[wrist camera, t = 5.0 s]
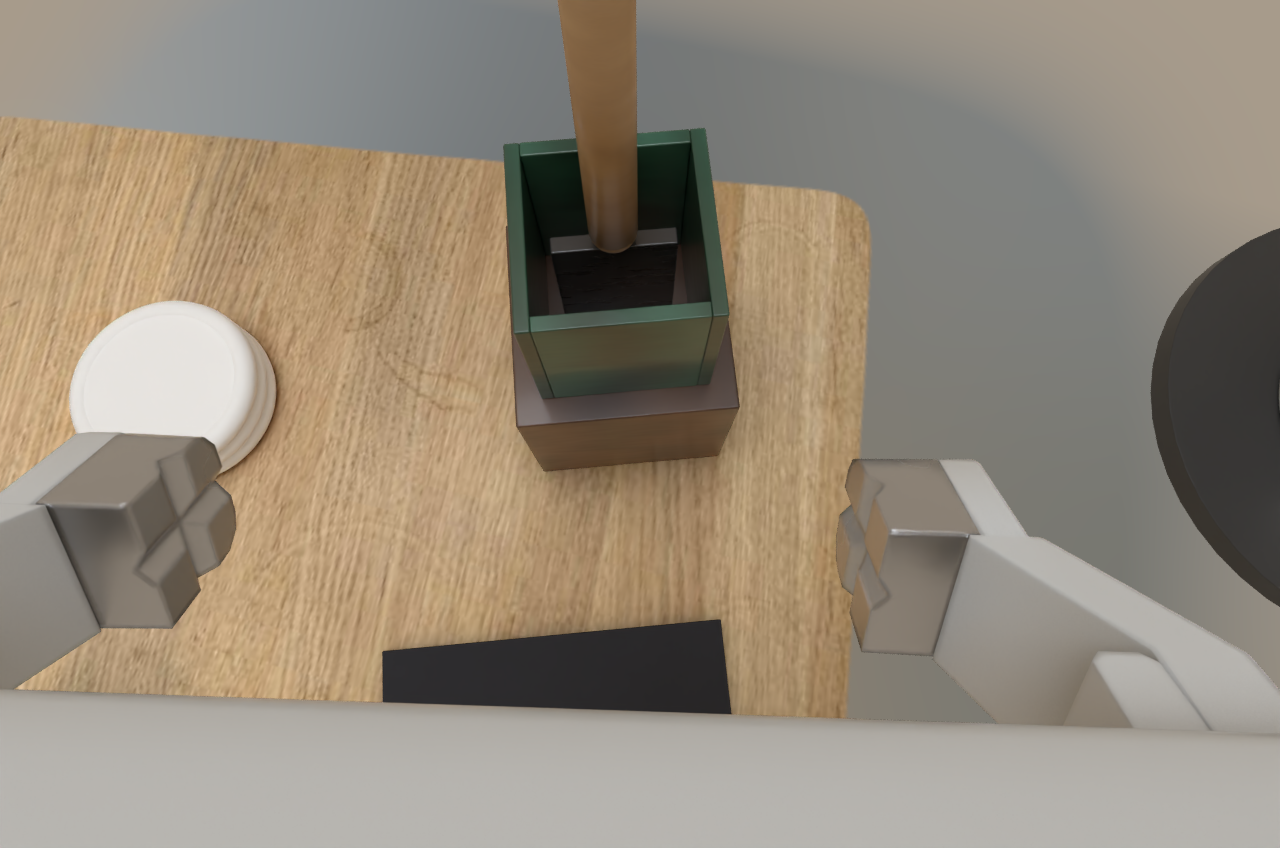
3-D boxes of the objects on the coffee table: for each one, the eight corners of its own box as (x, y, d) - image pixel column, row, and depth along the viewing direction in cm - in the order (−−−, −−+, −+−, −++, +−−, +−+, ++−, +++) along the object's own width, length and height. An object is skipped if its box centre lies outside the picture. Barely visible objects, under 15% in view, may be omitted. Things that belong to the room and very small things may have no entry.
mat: (719, 619, 42) (720, 619, 41) (752, 909, 38) (754, 914, 38) (385, 651, 42) (382, 651, 41) (388, 947, 38) (384, 952, 37)
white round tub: (80, 376, 46) (35, 355, 42) (236, 292, 47) (204, 265, 43) (148, 519, 43) (106, 510, 40) (309, 427, 45) (282, 410, 41)
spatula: (668, 291, 36) (703, -135, 16) (672, 327, 36) (713, -64, 15) (565, 300, 36) (469, -118, 16) (568, 336, 35) (473, -46, 15)
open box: (699, 294, 47) (733, 97, 29) (718, 455, 44) (768, 344, 27) (533, 308, 47) (469, 118, 29) (543, 471, 44) (479, 369, 27)
